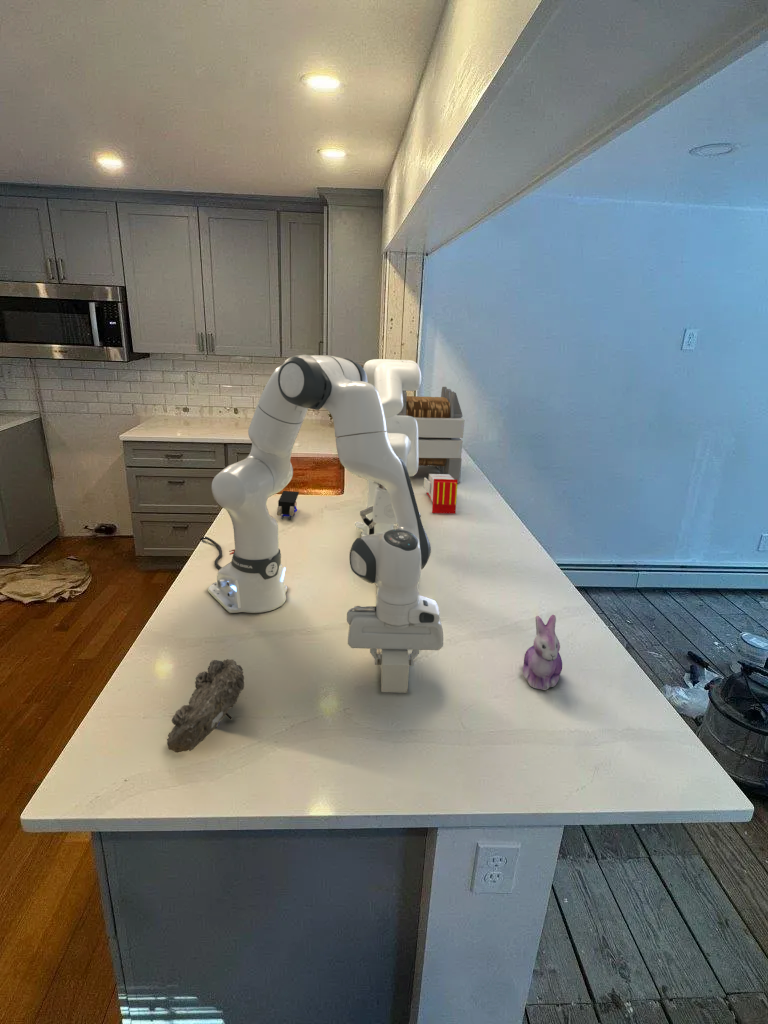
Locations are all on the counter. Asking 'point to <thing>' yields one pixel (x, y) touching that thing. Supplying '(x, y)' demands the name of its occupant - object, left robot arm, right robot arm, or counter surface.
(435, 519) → the counter surface
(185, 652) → the counter surface
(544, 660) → the figurine
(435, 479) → the toy
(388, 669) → the beam
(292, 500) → the figurine character
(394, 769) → the counter surface
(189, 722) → the fossil
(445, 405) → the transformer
